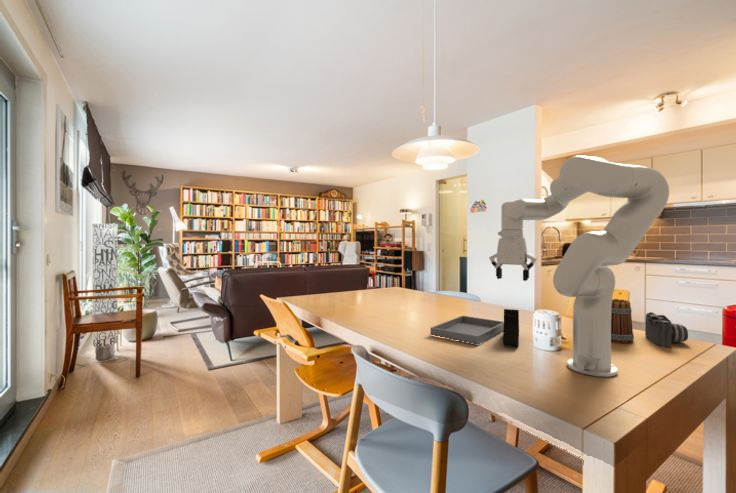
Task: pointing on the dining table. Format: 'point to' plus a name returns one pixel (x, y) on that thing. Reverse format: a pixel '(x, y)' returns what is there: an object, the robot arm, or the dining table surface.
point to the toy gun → (511, 327)
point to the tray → (468, 329)
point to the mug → (621, 322)
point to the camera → (664, 330)
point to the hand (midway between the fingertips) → (512, 279)
